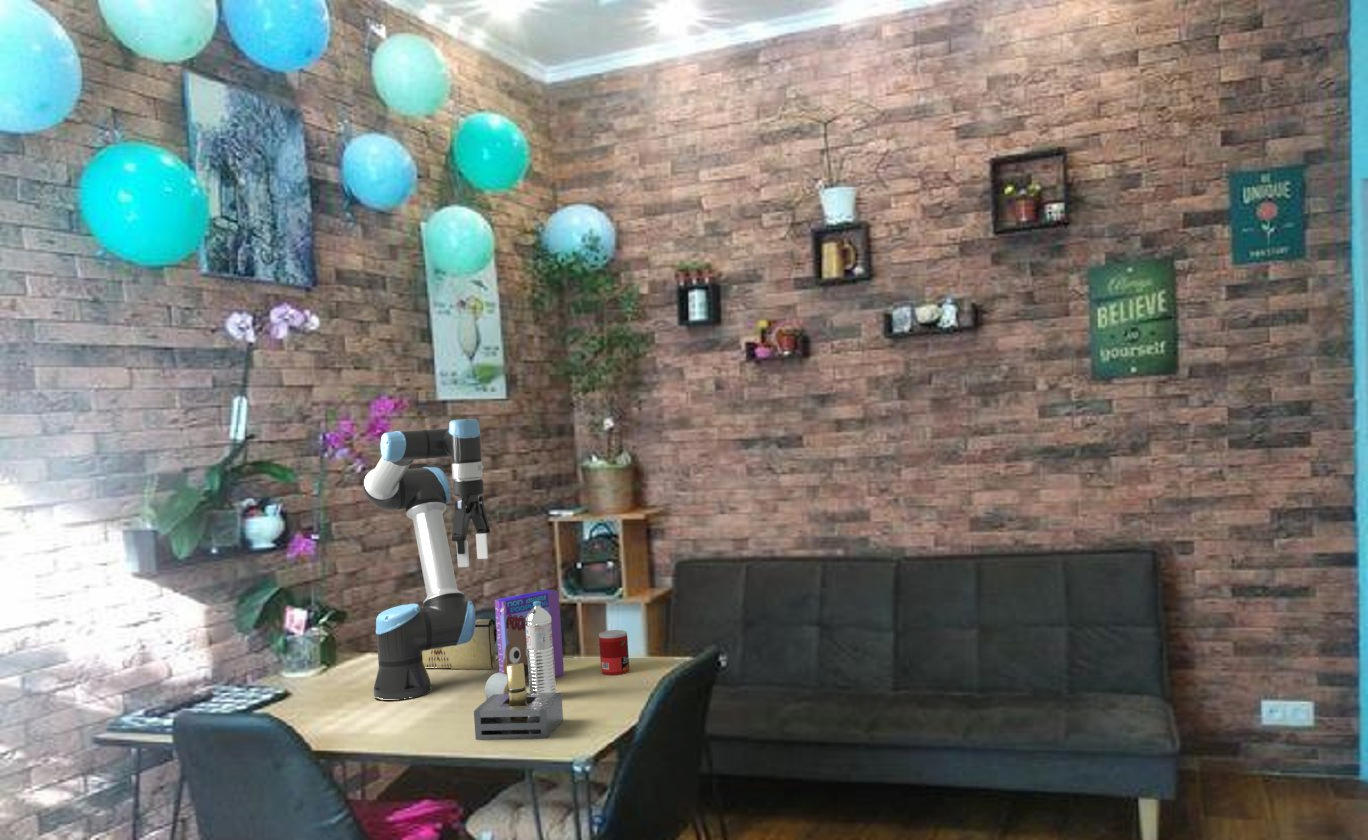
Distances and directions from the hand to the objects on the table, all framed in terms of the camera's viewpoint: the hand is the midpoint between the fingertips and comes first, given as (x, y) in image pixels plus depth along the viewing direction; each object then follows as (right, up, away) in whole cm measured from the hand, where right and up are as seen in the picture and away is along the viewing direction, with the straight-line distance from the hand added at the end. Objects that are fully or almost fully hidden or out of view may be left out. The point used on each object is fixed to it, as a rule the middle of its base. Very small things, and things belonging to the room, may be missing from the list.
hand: (473, 562), depth 247 cm
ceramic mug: (+9, -37, +1) cm, 38 cm away
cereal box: (+12, -36, +22) cm, 44 cm away
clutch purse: (-14, -38, +43) cm, 59 cm away
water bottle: (+17, -36, +4) cm, 40 cm away
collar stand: (+15, -36, -21) cm, 44 cm away
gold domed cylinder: (+15, -35, -21) cm, 43 cm away
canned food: (+34, -35, +26) cm, 55 cm away
